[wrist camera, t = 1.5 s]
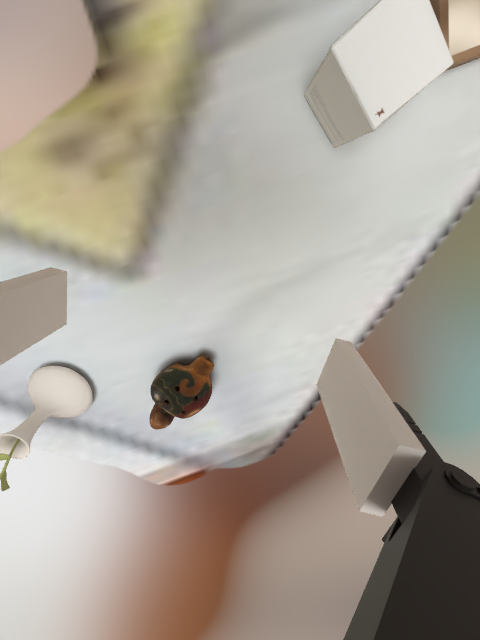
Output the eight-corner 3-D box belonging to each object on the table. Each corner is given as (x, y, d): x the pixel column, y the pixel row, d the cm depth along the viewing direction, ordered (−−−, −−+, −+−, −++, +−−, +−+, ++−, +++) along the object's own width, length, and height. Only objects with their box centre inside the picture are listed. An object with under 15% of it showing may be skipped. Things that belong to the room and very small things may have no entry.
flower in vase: (37, 352, 50) (-132, 487, 28) (101, 372, 52) (-10, 516, 30) (32, 404, 56) (-114, 553, 33) (90, 421, 57) (-11, 575, 35)
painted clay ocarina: (143, 392, 54) (126, 421, 46) (184, 332, 49) (173, 354, 42) (187, 417, 56) (177, 449, 48) (230, 361, 51) (227, 387, 44)
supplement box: (387, 104, 34) (458, 65, 23) (333, 149, 36) (372, 133, 25) (358, 41, 32) (420, -40, 20) (301, 92, 34) (328, 46, 22)
